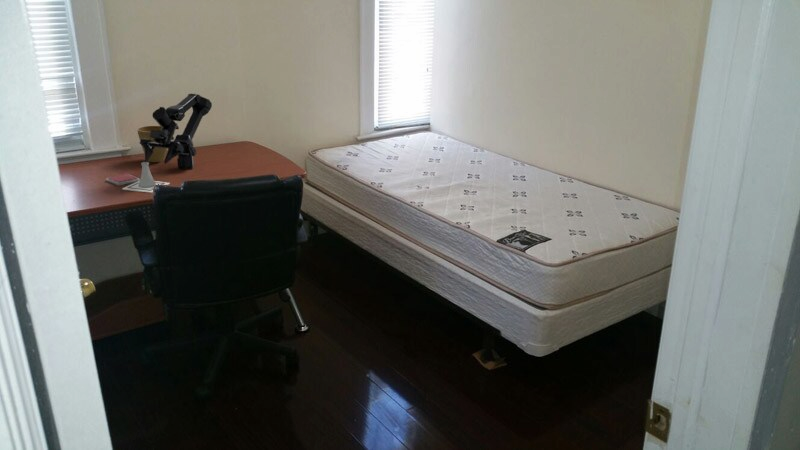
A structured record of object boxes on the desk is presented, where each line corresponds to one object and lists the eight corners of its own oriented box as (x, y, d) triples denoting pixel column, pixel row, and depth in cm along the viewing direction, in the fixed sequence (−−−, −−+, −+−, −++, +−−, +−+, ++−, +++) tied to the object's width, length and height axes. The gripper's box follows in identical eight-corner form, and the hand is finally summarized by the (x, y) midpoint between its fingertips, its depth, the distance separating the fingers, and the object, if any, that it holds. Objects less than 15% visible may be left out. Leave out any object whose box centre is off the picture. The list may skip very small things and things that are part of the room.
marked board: (141, 180, 284) (141, 179, 284) (170, 183, 282) (170, 182, 281) (122, 189, 272) (121, 188, 271) (151, 192, 269) (151, 191, 269)
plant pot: (163, 165, 308) (159, 132, 302) (134, 163, 310) (130, 130, 304) (178, 158, 321) (175, 126, 316) (150, 155, 324) (147, 124, 318)
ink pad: (127, 176, 289) (127, 173, 289) (139, 181, 284) (139, 177, 283) (106, 180, 282) (105, 177, 281) (118, 185, 276) (117, 182, 276)
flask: (158, 186, 276) (156, 163, 273) (141, 188, 272) (138, 166, 269) (153, 182, 282) (150, 159, 278) (136, 184, 277) (133, 162, 274)
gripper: (139, 120, 282) (127, 150, 275) (178, 123, 278) (166, 154, 272) (151, 134, 292) (139, 163, 285) (189, 137, 288) (177, 167, 282)
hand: (155, 162), depth 281 cm, fingers open, 9 cm apart
